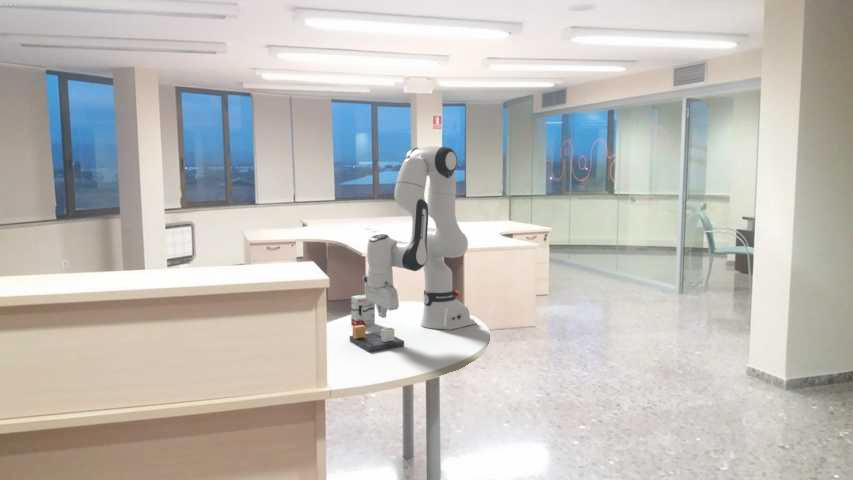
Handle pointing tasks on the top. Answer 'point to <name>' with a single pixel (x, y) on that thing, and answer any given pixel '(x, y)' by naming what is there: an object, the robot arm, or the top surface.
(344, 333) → the top surface
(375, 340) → the console
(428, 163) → the robot arm
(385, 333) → the fader
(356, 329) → the fader
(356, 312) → the ink box
